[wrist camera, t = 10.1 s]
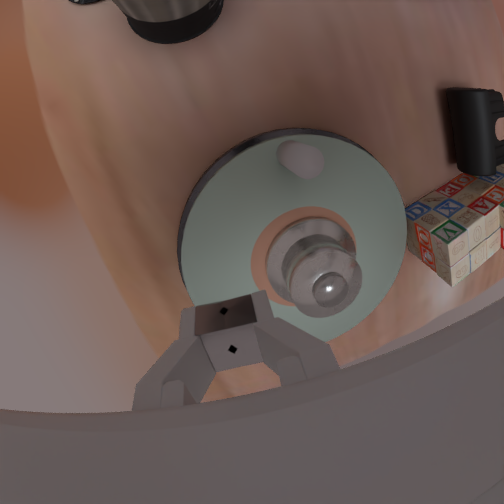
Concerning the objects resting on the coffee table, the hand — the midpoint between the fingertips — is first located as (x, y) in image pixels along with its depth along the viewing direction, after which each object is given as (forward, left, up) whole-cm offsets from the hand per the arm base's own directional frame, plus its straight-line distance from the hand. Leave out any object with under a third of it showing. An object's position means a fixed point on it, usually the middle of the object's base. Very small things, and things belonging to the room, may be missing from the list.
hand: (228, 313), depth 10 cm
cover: (+9, +7, -17) cm, 20 cm away
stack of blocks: (+7, +31, -20) cm, 38 cm away
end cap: (-3, +31, -20) cm, 37 cm away
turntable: (+8, +7, -18) cm, 21 cm away
